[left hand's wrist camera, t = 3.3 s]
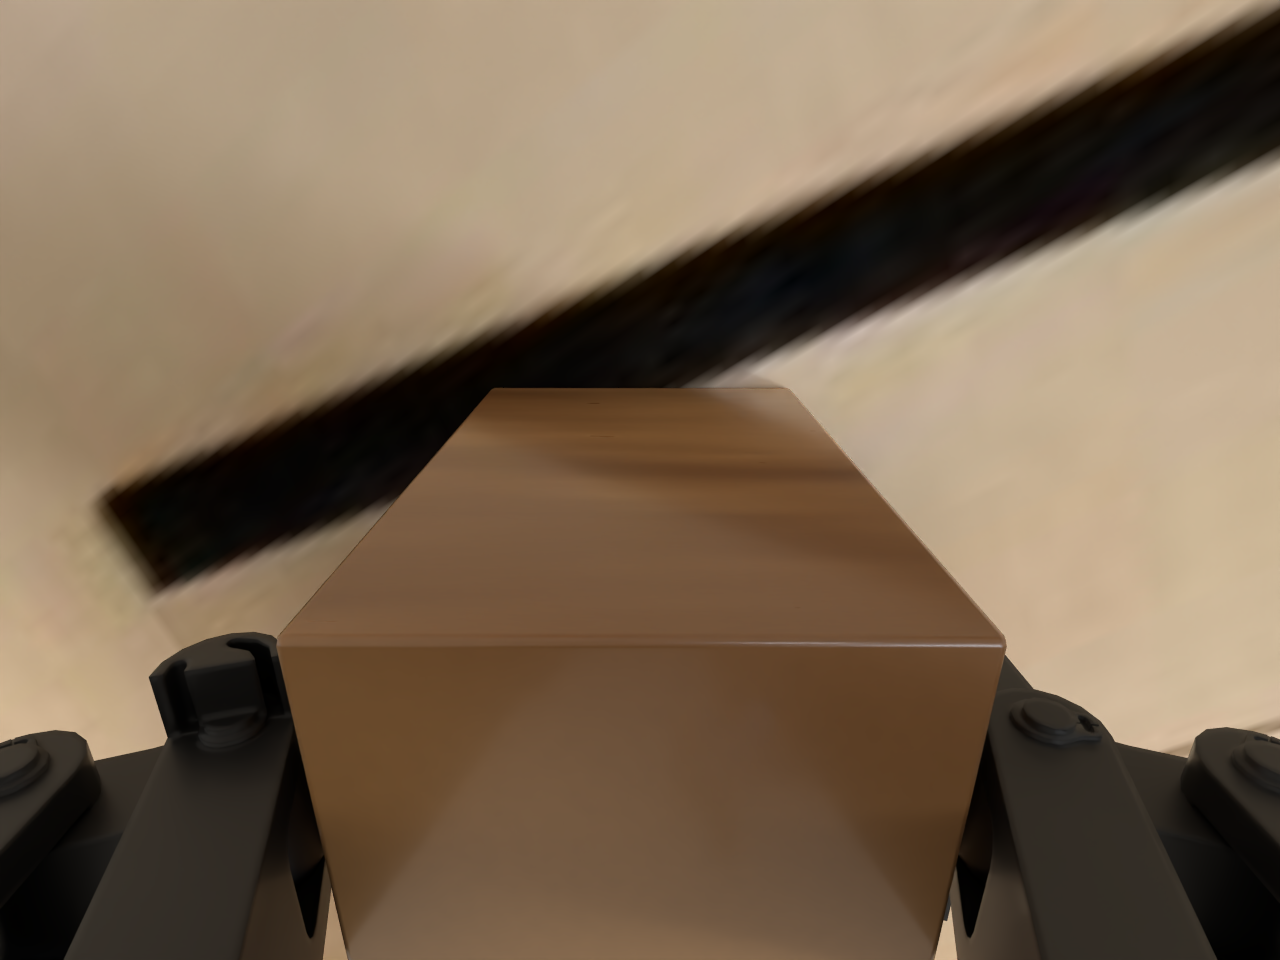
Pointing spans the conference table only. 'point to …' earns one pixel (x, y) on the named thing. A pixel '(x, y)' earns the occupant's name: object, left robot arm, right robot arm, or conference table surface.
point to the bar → (641, 694)
